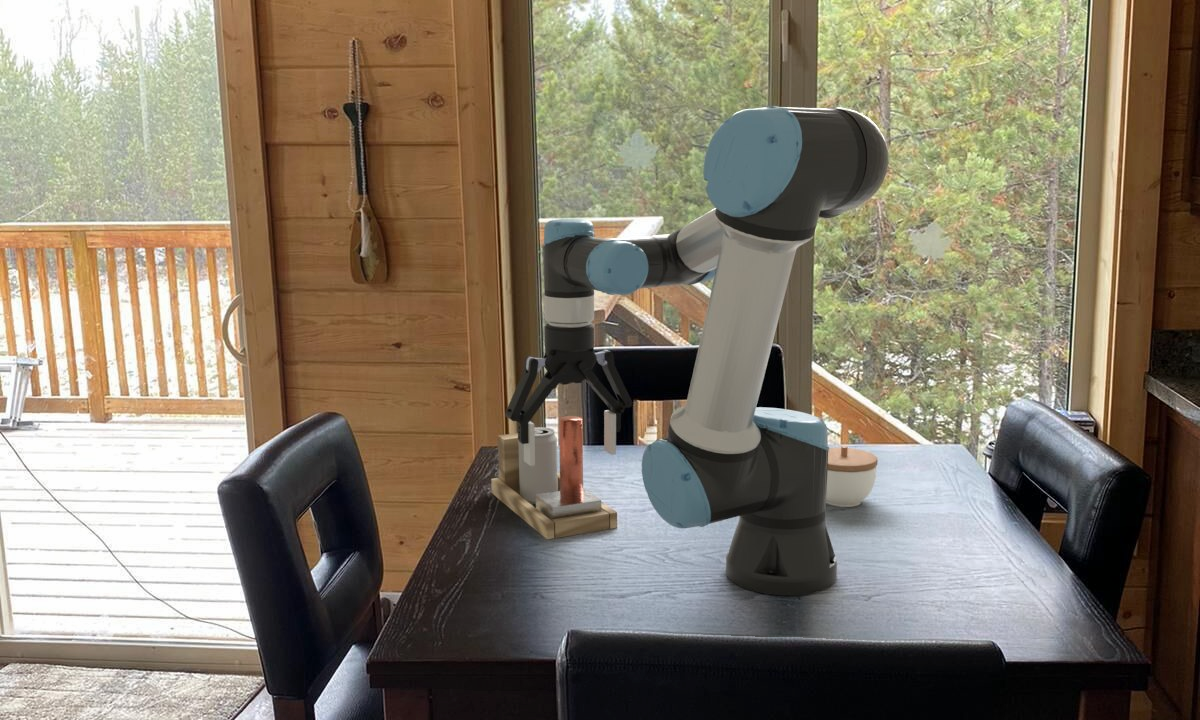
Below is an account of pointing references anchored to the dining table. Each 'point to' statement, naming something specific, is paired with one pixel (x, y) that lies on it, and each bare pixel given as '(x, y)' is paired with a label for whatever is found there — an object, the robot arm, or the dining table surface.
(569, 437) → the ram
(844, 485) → the lidded jar
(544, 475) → the beverage can
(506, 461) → the press frame
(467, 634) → the dining table surface
